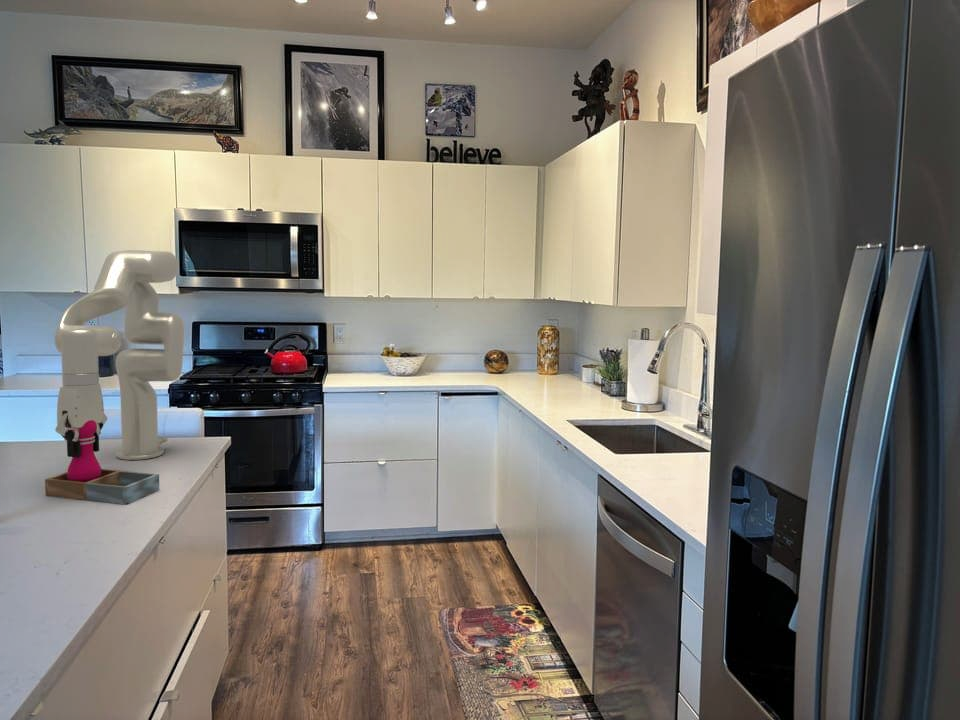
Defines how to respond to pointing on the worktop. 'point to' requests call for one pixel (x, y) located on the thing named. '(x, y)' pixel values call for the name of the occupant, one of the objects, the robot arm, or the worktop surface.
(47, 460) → the worktop surface
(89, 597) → the worktop surface
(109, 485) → the organizer
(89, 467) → the pepper mill
